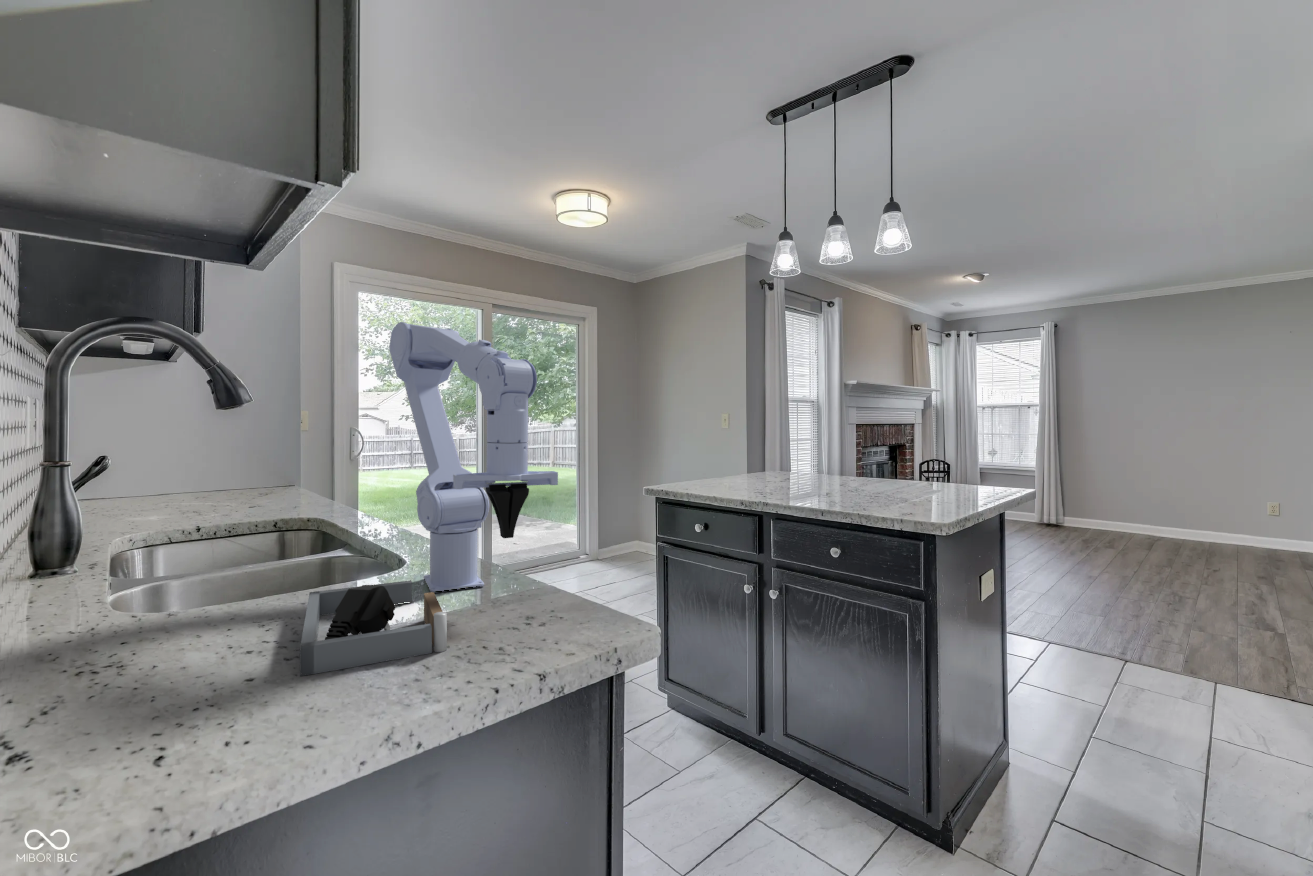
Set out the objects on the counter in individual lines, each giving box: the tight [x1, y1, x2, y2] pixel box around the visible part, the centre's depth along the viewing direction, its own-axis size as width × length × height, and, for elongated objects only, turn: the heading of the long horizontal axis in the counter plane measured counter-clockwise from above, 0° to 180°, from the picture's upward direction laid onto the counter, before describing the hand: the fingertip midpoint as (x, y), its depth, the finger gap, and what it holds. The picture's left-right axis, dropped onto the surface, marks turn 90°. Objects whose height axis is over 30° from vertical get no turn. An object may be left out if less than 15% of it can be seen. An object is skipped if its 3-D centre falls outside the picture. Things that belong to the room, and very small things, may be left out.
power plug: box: [324, 584, 396, 640], centre depth 67 cm, size 6×8×12 cm
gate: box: [423, 591, 444, 648], centre depth 71 cm, size 10×1×4 cm, turn 28°
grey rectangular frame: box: [299, 580, 448, 677], centre depth 71 cm, size 21×14×4 cm
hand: (506, 536), depth 82 cm, fingers closed
